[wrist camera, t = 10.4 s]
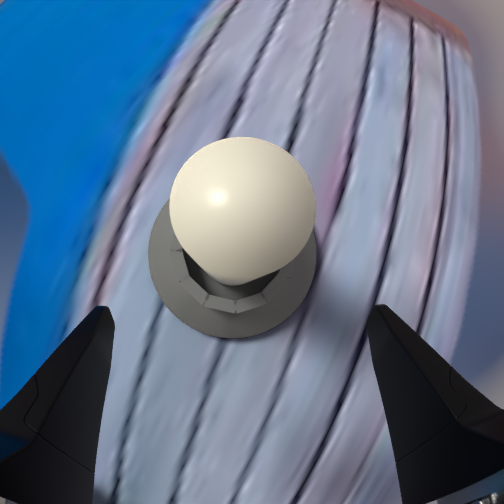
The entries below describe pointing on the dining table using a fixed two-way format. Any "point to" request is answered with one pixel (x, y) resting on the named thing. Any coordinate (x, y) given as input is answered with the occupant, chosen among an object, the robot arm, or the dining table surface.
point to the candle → (242, 209)
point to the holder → (225, 288)
